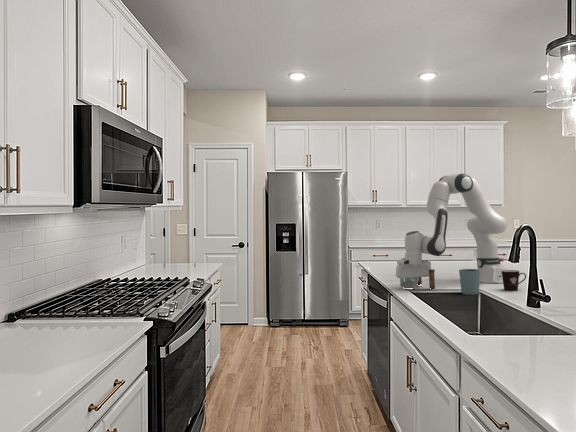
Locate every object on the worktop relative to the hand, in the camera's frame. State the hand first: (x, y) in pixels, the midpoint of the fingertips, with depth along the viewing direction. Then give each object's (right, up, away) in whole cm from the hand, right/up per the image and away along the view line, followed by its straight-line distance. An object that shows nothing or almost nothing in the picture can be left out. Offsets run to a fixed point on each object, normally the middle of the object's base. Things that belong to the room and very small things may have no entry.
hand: (414, 285), depth 266 cm
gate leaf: (-1, -1, +7) cm, 7 cm away
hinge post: (+5, -2, +10) cm, 11 cm away
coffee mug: (+48, 0, -16) cm, 50 cm away
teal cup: (+23, -1, -20) cm, 31 cm away
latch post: (+8, -2, -4) cm, 9 cm away
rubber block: (-4, -2, -1) cm, 4 cm away
